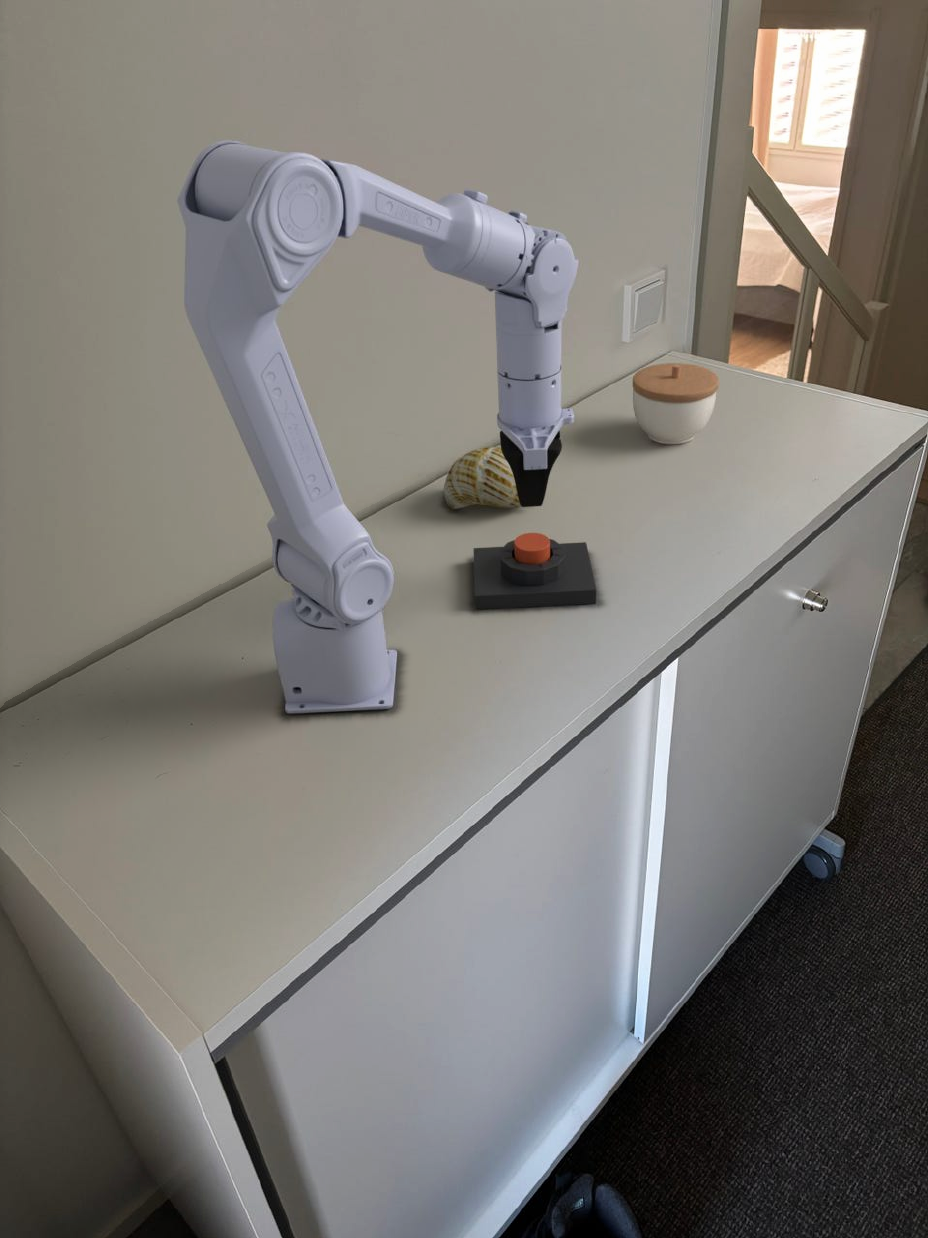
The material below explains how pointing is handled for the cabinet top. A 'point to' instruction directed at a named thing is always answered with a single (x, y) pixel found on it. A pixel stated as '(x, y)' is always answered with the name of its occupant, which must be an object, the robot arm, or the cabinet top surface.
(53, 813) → the cabinet top surface
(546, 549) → the switch button
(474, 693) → the cabinet top surface
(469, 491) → the seashell
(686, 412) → the trinket box
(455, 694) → the cabinet top surface
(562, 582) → the switch plate
